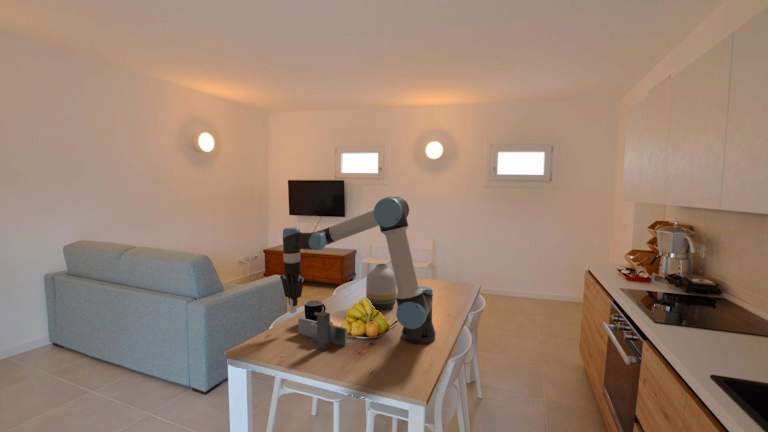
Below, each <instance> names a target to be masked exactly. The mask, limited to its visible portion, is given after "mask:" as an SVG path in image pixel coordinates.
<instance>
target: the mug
mask: <svg viewBox="0 0 768 432" xmlns="http://www.w3.org/2000/svg"><path fill="white" fill-rule="evenodd" d="M303 307H304V317H305V319H309V320H313V321H317V314H319V313H321V312H326V305H325V304H324V302H323V301H322V300H318V299H311V300H307V301H305V302H304V306H303Z"/></svg>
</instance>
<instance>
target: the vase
mask: <svg viewBox="0 0 768 432" xmlns="http://www.w3.org/2000/svg"><path fill="white" fill-rule="evenodd" d="M367 273H368V274H367V276H366V287H365V289H366V293H365V295H366V296H365V297H366V298H368V299H369V300H370V301H371V303H372V305H373V306H374V307H375V308H376V310H387V309H390V308H392V307H394V305H395V303H397V301H396V295H397V284H396V280H395V275H394V271H393V270H392V269H391V268H390V267H389V266H388V264H387V263H377V264H376V265H375V267H374V268H372V269H371V270H370V271H369V272H367ZM366 298H365V299H366ZM375 308H374V309H375Z"/></svg>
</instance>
